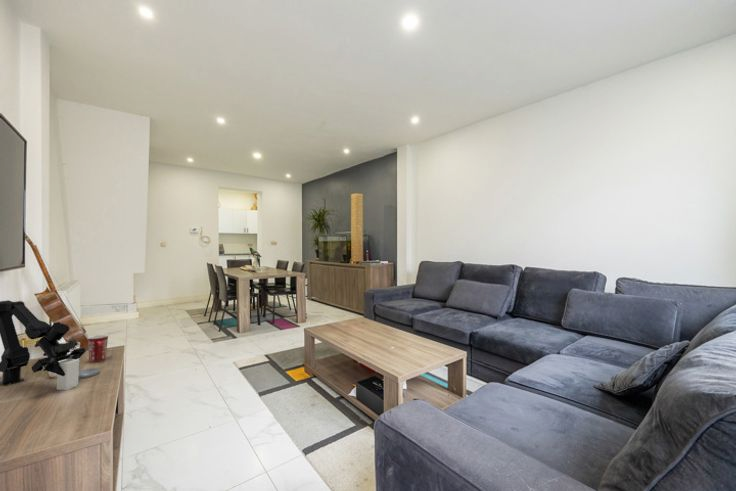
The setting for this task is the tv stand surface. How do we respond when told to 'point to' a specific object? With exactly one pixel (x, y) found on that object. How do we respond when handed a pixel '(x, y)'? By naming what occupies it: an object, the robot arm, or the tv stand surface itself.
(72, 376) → the block
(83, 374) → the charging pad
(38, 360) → the robot arm
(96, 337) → the mug
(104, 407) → the tv stand surface
